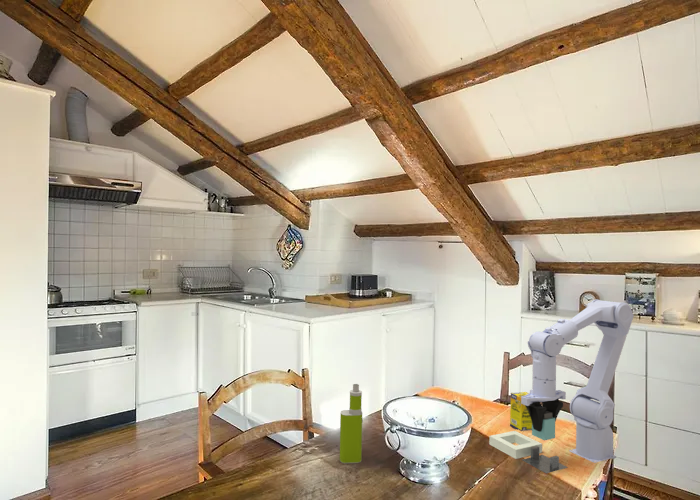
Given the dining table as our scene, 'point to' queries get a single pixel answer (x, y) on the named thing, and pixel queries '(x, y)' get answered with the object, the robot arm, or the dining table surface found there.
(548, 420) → the plug
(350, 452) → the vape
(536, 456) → the grey socket plate
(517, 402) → the supplement box
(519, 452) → the port
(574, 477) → the dining table surface
